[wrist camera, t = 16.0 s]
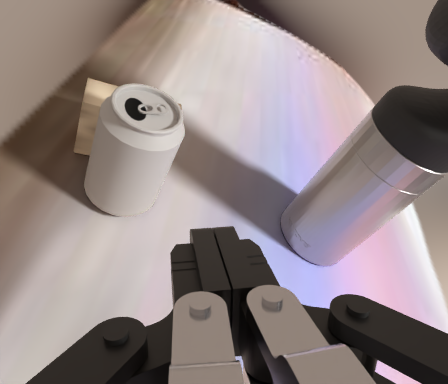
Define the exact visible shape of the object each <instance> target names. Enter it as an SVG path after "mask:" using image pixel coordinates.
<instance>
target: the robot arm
mask: <svg viewBox="0 0 448 384" xmlns="http://www.w3.org/2000/svg"><path fill="white" fill-rule="evenodd" d="M426 41H427V44H428V47H429V48H430V50H431V51H432V52H433V53H434V55H435V56H436V57H438V59H440V60H441V61H442V62H443V63H444V64H446V65H447V66H448V0H438V1H437V3H436V5H435V6H434V8H433V10H432V12H431V14H430V16H429V18H428V21H427V26H426ZM446 174H448V89H429V88H422V87H415V86H398V87H395V88H392V89H391V90H389V91H388V92H387V93H386V94H385V95H384V96H383V97H382V98H381V100H380V101H379V102H378V103H377V104H376V105H375V106H374V108H373V109H372V110H371V111H370V112H369V113H368V115H367V116H366V117H365V118H364V119H363V120H362V121H361V123H360V124H359V125H358V126H357V127H356V128H355V129H354V131H353V132H352V133H351V134H350V135H349V137H348V138H347V139H346V140H345V141H344V142H343V143H342V145H341V146H340V147H339V148H338V149H337V150H336V152H335V153H334V154H333V155H332V156H331V157H330V158H329V160H328V161H327V162H326V163H325V164H324V165H323V166H322V168H321V169H320V170H319V171H318V172H317V173H316V175H315V176H314V177H313V178H312V179H311V180H310V181H309V183H308V184H307V185H306V186H305V187H304V188H303V189H302V191H301V192H300V193H299V194H298V195H297V196H296V197H295V199H294V200H293V201H292V202H291V203H290V204H289V206H288V207H287V208H286V209H285V210H284V212H283V213H282V216H281V228H282V231H283V234H284V236H285V238H286V240H287V242H288V243H289V244H290V246H291V247H292V248H293V249H294V250H295V251H296V252H297V253H298V254H299V255H300V256H301V257H303V258H304V259H305V260H307V261H309V262H311V263H314V264H317V265H320V266H331V265H334V264H336V263H337V262H339V261H340V260H341V259H342V258H344V257H345V256H346V255H347V254H349V253H350V252H351V251H352V250H354V249H355V248H356V247H357V246H359V245H360V244H361V243H362V242H364V241H365V240H366V239H367V238H369V237H370V236H371V235H372V234H374V233H375V232H376V231H377V230H379V229H380V228H381V227H382V226H384V225H385V224H386V223H387V222H388V221H390V220H391V219H392V218H393V217H395V216H396V215H397V214H398V213H400V212H401V211H402V210H403V209H405V208H406V207H407V206H408V205H410V204H411V203H412V202H413V201H415V200H416V199H417V198H418V197H419V196H421V195H422V194H423V193H424V192H425V191H427V190H428V189H429V188H430V187H432V186H433V185H434V184H435V183H437V182H438V181H439V180H440V179H442V178H443V177H444V176H445V175H446ZM171 276H172V295H173V309H172V311H171V312H170V314H169V315H168V316H167V317H165V318H164V319H163V320H161V321H159V322H157V323H154V324H152V325H149V326H146V327H145V326H144V325H143V323H141V322H140V321H138V320H137V319H134V318H130V317H117V318H112V319H108V320H106V321H103V322H102V323H100V324H98V325H97V326H95V327H94V328H93V329H92V330H90V331H89V332H88V333H87V334H85V335H84V336H83V337H82V338H81V339H79V340H78V341H77V342H76V343H75V344H73V345H72V346H71V347H70V348H68V349H67V350H66V351H65V352H64V353H62V354H61V355H60V356H59V357H57V358H56V359H55V360H54V361H53V362H51V363H50V364H49V365H48V366H46V367H45V368H44V369H43V370H42V371H40V372H39V373H38V374H37V375H36V376H34V377H33V378H32V379H31V380H29V381H28V382H27V383H26V384H244V383H245V384H395V383H394V382H392V381H390V380H388V379H387V378H385V377H383V376H381V375H379V374H378V373H376V372H375V368H376V364H377V360H379V361H381V362H383V363H384V364H386V365H388V366H390V367H392V368H394V369H396V370H397V371H399V372H401V373H403V374H405V375H407V376H409V377H410V378H412V379H414V380H416V381H418V382H420V383H422V384H448V334H447V333H445V332H443V331H440V330H438V329H436V328H434V327H431V326H429V325H427V324H425V323H422V322H420V321H418V320H415V319H413V318H411V317H409V316H406V315H404V314H402V313H400V312H397V311H395V310H393V309H391V308H388V307H386V306H384V305H382V304H379V303H377V302H375V301H373V300H370V299H368V298H365V297H363V296H359V295H353V294H345V295H340V296H337V297H335V298H334V299H333V300H332V301H331V304H330V309H327V308H319V307H311V306H306V305H302V304H301V303H300V302H299V300H298V299H297V297H296V296H295V295H294V294H293V293H292V292H291V291H289V290H288V289H286V288H283V287H280V285H279V283H278V281H277V279H276V278H275V276H274V274H273V272H272V270H271V268H270V266H269V264H267V260H266V258H265V257H264V255H263V253H262V251H261V249H260V247H259V246H258V245H257V244H255V243H254V242H253V241H251V240H250V239H244V240H239V237H238V235H237V233H236V231H235V228H234V227H233V226H231V227H216V228H202V229H190V244H176V245H175V247H174V249H173V250H172V252H171ZM235 356H242V360H243V374H242V368H241V364H240V361H239V360H237V361H236V359H235Z"/></svg>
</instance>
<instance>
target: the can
mask: <svg viewBox="0 0 448 384" xmlns="http://www.w3.org/2000/svg"><path fill="white" fill-rule="evenodd" d="M184 135H185V128H184V124H183V112H182V110H181V108H180V106H179V105H178V103H177V102H176V101H175V100H174V99H173V98H172V97H171V96H169V95H168V94H166V93H165V92H163V91H161V90H159V89H157V88H155V87H152V86H148V85H145V84H136V83H133V84H125V85H122V86H120V87H118V88H116V89H115V90H114V92H113V93H112V94H111V96H109V97H107V98H106V99H105V101H104V102H103V103H102V104H101V107H100V112H99V116H98V121H97V126H96V130H95V135H94V139H93V144H92V148H91V153H90V157H89V162H88V167H87V171H86V176H85V181H84V188H85V192H86V195H87V196H88V198H89V199H90V200H91V202H92V203H93V204H94V205H96V206H97V207H98V208H99V209H101V210H102V211H105V212H107V213H109V214H112V215H116V216H122V217H129V216H137V215H140V214H142V213H144V212H147V211H148V210H149V209H150V208H151V207H152V206H153V204H154V202H155V200H156V198H157V196H158V193H159V191H160V189H161V187H162V184H163V182H164V180H165V178H166V176H167V173H168V171H169V169H170V167H171V164H172V162H173V160H174V158H175V156H176V153H177V151H178V149H179V147H180V144H181V142H182V140H183V138H184Z"/></svg>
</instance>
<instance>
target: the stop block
mask: <svg viewBox="0 0 448 384" xmlns="http://www.w3.org/2000/svg"><path fill="white" fill-rule="evenodd" d="M116 88H118V86H115V85H111V84H108V83H104V82H100V81H97V80H93V79H90V78H88V80H87V85H86V89H85V93H84V97H83V101H82V107H81V113H80V118H79V124H78V130H77V136H76V142H75V147H74V153H79V154H84V155H89V156H90V153H91V148H92V144H93V139H94V135H95V130H96V126H97V121H98V116H99V112H100V107H101V104H102V103H103V102H104V101H105V99H106V98H107V97H109V96H111V94H112V93H113V92H114V90H115V89H116ZM178 105H179V106H180V108H181V104H178ZM181 110H182V108H181Z"/></svg>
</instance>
